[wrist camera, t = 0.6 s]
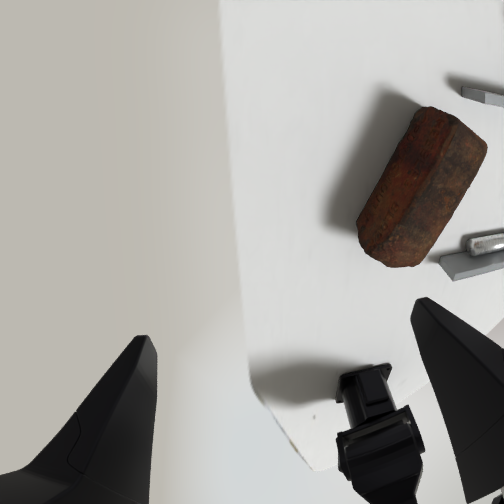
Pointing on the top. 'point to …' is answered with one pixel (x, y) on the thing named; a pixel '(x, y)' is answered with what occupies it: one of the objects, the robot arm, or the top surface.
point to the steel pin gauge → (485, 244)
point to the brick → (420, 188)
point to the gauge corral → (463, 262)
